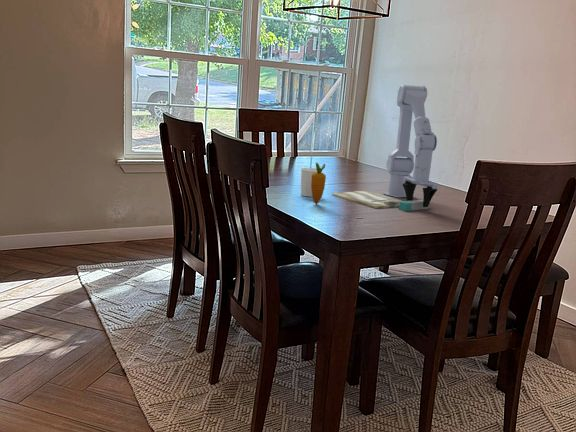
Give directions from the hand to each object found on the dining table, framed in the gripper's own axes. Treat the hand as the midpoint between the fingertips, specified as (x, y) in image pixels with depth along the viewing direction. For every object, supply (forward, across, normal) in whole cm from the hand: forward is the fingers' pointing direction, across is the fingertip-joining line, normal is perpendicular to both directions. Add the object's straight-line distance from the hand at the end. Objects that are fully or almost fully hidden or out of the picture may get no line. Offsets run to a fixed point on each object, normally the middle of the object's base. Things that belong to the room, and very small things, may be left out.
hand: (417, 204), depth 194 cm
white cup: (+2, -32, -25) cm, 41 cm away
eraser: (+2, 0, 0) cm, 2 cm away
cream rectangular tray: (+1, -17, -7) cm, 18 cm away
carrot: (+2, -18, -33) cm, 38 cm away
